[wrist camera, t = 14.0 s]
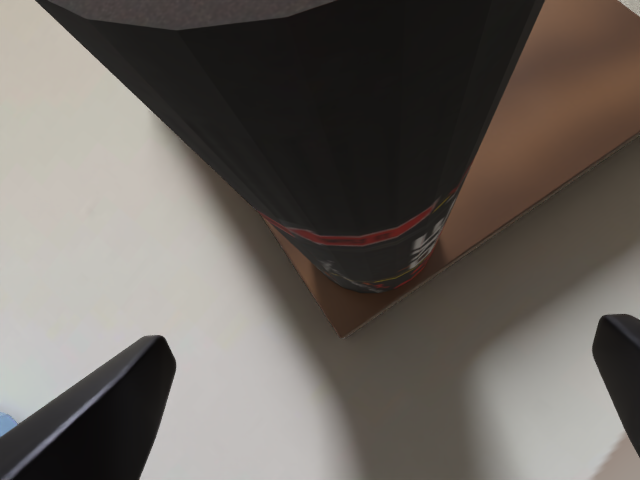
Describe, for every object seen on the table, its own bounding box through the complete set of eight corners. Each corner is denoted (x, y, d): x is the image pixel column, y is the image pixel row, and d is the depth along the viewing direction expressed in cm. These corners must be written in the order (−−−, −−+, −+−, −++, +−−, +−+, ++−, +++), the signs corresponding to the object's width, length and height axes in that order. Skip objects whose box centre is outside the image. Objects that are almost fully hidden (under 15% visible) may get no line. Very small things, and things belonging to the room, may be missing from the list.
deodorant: (406, 315, 16) (504, 139, 2) (286, 262, 18) (-142, -47, 4) (456, 194, 17) (767, -526, 3) (337, 154, 19) (161, -436, 4)
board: (695, 97, 18) (721, 76, 16) (344, 339, 18) (340, 339, 16) (408, -128, 25) (409, -157, 23) (156, 48, 25) (142, 31, 23)
